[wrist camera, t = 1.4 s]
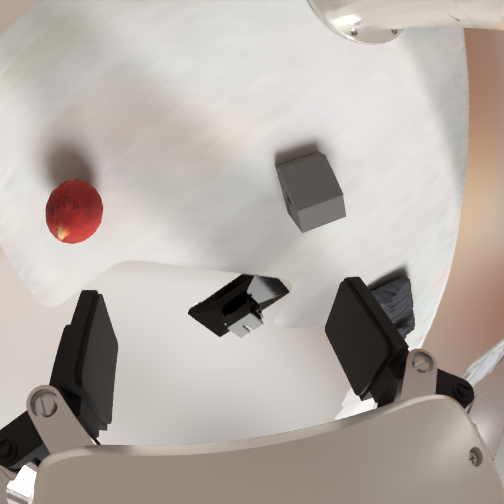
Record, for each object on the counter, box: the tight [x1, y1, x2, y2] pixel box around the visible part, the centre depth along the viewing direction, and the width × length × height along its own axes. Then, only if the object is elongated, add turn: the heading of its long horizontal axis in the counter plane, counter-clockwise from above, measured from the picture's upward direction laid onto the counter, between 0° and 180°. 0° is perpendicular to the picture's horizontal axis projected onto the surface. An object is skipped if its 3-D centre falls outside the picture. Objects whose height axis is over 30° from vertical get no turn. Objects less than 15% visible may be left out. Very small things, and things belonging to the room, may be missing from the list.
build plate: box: [188, 274, 290, 338], centre depth 37 cm, size 12×7×5 cm, turn 125°
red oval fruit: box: [46, 179, 103, 244], centre depth 23 cm, size 6×6×8 cm
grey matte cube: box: [275, 152, 346, 233], centre depth 29 cm, size 5×6×5 cm
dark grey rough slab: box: [370, 276, 415, 339], centre depth 47 cm, size 15×22×5 cm
